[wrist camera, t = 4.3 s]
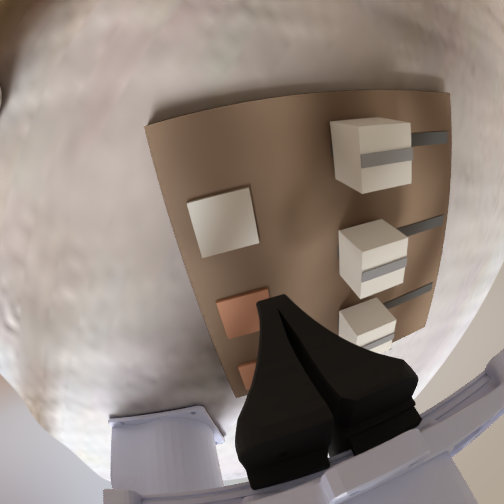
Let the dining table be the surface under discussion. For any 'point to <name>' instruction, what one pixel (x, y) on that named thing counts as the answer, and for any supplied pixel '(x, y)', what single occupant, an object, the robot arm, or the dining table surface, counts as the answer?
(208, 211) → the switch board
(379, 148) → the slider
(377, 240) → the slider middle
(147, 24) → the dining table surface
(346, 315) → the slider
